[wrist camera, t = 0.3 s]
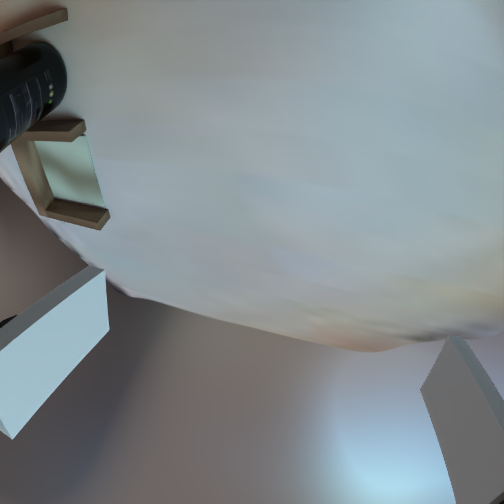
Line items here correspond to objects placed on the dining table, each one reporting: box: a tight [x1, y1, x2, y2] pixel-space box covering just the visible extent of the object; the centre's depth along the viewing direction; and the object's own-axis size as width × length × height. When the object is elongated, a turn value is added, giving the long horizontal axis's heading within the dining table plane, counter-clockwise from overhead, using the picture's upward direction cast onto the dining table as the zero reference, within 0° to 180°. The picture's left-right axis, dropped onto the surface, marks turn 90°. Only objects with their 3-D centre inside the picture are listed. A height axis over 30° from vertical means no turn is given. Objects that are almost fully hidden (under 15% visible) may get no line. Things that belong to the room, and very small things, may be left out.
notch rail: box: [0, 9, 110, 230], centre depth 22 cm, size 21×10×2 cm, turn 177°
